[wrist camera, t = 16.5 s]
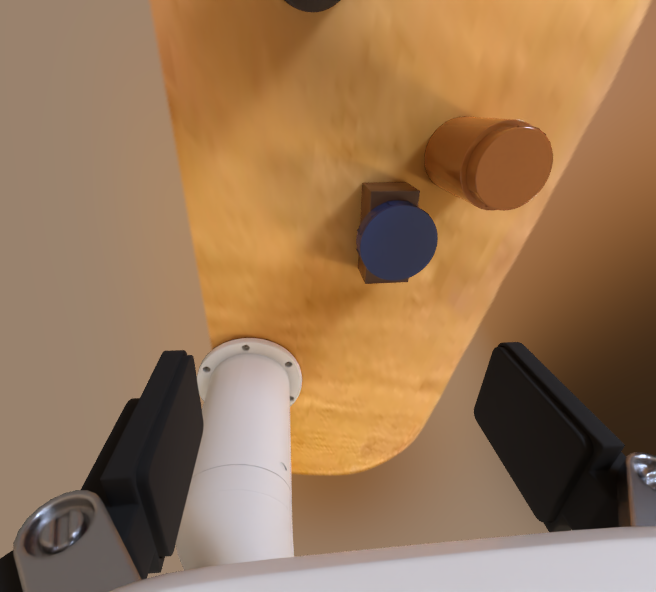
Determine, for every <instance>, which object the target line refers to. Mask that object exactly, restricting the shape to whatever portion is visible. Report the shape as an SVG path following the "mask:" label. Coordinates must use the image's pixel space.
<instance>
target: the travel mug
mask: <svg viewBox="0 0 656 592" xmlns="http://www.w3.org/2000/svg"><path fill="white" fill-rule="evenodd" d="M285 1H286V2H287V3H288V4H290V5H291V6H293V7H295V8H297V9H299V10H302V11H306V12H319V11H324V10H326V9H329V8H330V7H332V6H334V5H335V4H336V3H338V2H339V1H340V0H285Z"/></svg>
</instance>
